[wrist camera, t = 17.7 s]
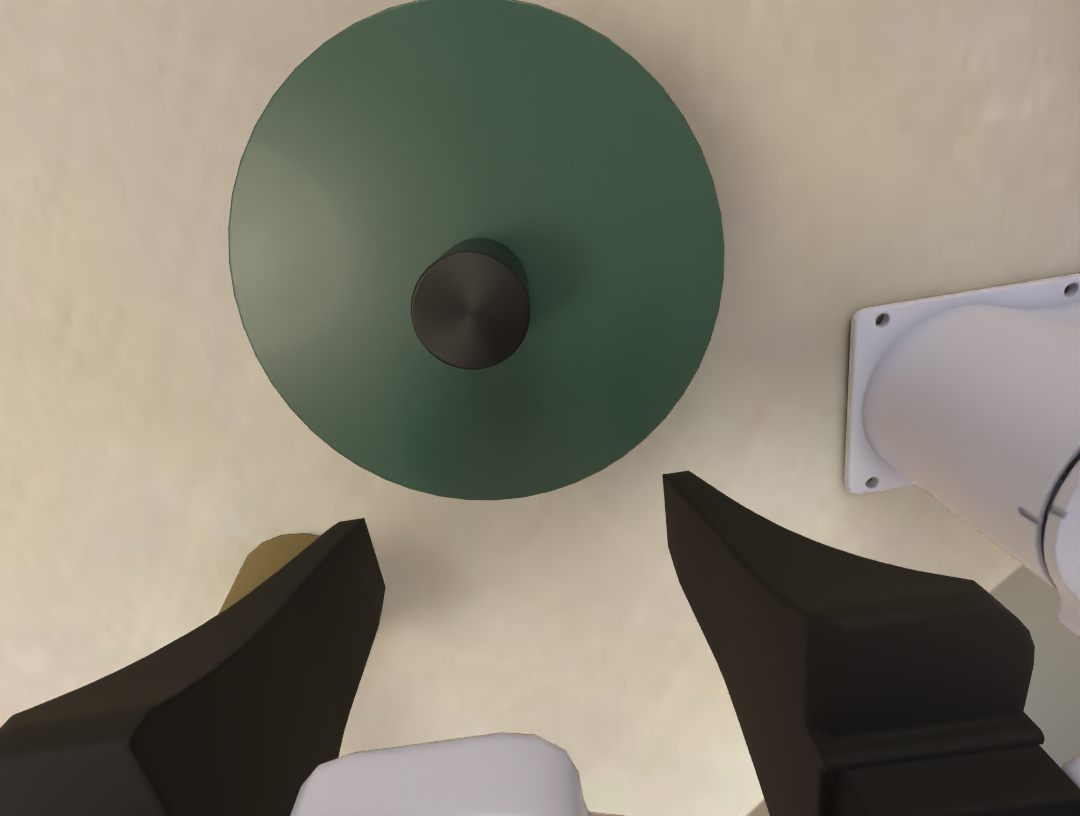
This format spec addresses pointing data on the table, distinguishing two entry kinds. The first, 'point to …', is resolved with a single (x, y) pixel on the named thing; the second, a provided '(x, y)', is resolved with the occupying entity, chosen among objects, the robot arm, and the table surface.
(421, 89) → the lid
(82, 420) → the table surface
